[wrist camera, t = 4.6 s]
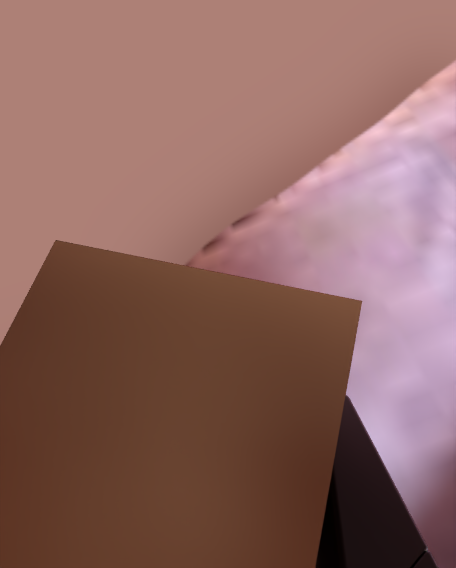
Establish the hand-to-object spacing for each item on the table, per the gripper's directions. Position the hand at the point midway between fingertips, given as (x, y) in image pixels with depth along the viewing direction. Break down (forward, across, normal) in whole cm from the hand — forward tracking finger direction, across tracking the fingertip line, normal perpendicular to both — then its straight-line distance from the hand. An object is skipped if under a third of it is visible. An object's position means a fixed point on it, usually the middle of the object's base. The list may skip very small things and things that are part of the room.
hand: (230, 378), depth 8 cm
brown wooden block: (+4, 0, +6) cm, 8 cm away
